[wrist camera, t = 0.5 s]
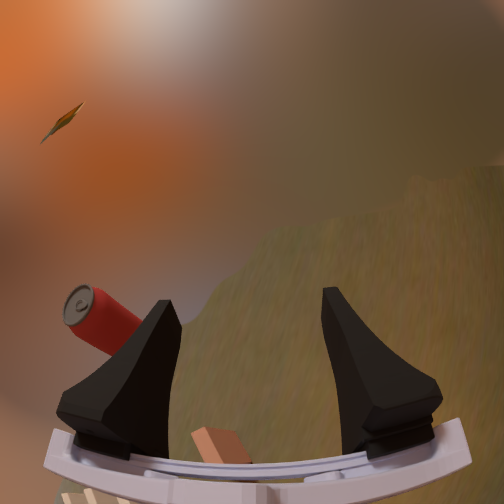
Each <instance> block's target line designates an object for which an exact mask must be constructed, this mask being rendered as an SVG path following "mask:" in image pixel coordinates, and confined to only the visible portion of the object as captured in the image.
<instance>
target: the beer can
mask: <svg viewBox="0 0 504 504" xmlns="http://www.w3.org/2000/svg"><path fill="white" fill-rule="evenodd" d="M62 316H63V321H64V323H65V324H66V325H67V326H69V328H70V329H71V330H72V332H73V333H74V334H75V335H76V336H77V337H79V338H80V339H82V340H84V341H85V342H87V343H89V344H91V345H92V346H94V347H96V348H98V349H100V350H101V351H103V352H105V353H107V354H109V355H111V356H113V355H114V354H115V353H116V352H117V351H118V350H119V349H120V348H121V347H122V346H123V345H124V343H125V342H126V341H127V340H128V339H129V338H130V336H131V335H132V334H133V333H134V332H135V330H136V329H137V328H138V327H139V325H140V324H141V323H142V322H143V321H142V320H141V319H139V318H138V317H137V316H135V315H134V314H133V313H131V312H130V311H129V310H127V309H126V308H124V307H123V306H122V305H121V304H119V303H118V302H117V301H115V300H114V299H113V298H112V297H111V296H109V295H108V294H107V293H106V292H104V291H103V290H101V289H99V288H95V287H91V286H90V285H89V284H81V285H79V286H77V287H76V288H75V289H74V290H73V291H72V292H71V293H70V294H69V296H68V297H67V299H66V302H65V303H64V307H63V313H62Z"/></svg>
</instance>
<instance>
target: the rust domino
mask: <svg viewBox="0 0 504 504" xmlns="http://www.w3.org/2000/svg"><path fill="white" fill-rule="evenodd" d="M191 435H192V437H193V439H194V441H195V443H196V445H197V447H198V450H199V452H200V454H201V456H202V458H203V460H204V461H205V463H217V464H248V463H250V462H252V461H251V459H250V457H249V456H248V454H247V452H246V450H245V449H244V447H243V445H242V443H241V442H240V440H239V438H238V436H237V435H236V433H235V431H230V430H223V429H216V428H210V427H203V428H201V429H199V430H197V431H195V432H193V433H191Z"/></svg>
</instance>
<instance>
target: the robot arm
mask: <svg viewBox="0 0 504 504" xmlns="http://www.w3.org/2000/svg"><path fill="white" fill-rule="evenodd" d="M321 321H322V328H323V334H324V339H325V343H326V346H327V350H328V354H329V358H330V361H331V365H332V369H333V373H334V377H335V382H336V388H337V395H338V403H339V412H340V423H341V436H342V456H336V457H330V458H323V459H316V460H307V461H298V462H286V463H269V464H217V463H200V462H188V461H179V460H170V459H169V450H168V416H169V401H170V391H171V385H172V380H173V375H174V371H175V367H176V362H177V358H178V354H179V349H180V343H181V333H182V326H181V324H180V322H179V319H178V317H177V315H176V312H175V310H174V307H173V305H172V302H171V300H159V301H158V302H157V303H156V305H155V306H154V307H153V308H152V310H151V311H150V312H149V314H148V315H147V316H146V318H145V319H144V320H143V322H142V323H141V324H140V325H139V327H138V328H137V329H136V330H135V332H134V333H133V334H132V335H131V336H130V338H129V339H128V340H127V341H126V342H125V343H124V345H123V346H122V347H121V348H120V349H119V350H118V351H117V352H116V353H115V354H114V355H113V356H112V357H111V358H110V359H109V360H108V361H107V362H105V363H104V364H103V365H102V366H101V367H100V368H98V369H97V370H96V371H95V372H94V373H92V374H91V375H90V376H88V377H87V378H86V379H84V380H83V381H81V382H80V383H78V384H76V385H75V386H73V387H71V388H70V389H68V390H66V391H64V392H63V394H62V397H61V400H60V403H59V405H58V408H57V411H56V414H57V416H58V417H59V418H60V419H61V420H62V421H63V422H65V423H66V424H67V425H69V426H70V427H71V428H73V429H74V430H76V434H75V436H74V435H72V434H70V433H67V432H64V431H61V430H58V429H56V428H55V429H54V431H53V434H52V437H51V441H50V444H49V447H48V451H47V454H46V458H45V462H44V468H45V469H47V470H49V471H51V472H53V473H55V474H57V475H59V476H61V477H64V478H66V479H68V480H70V481H72V482H75V483H77V484H80V485H83V486H85V487H88V488H91V489H93V490H96V491H99V492H102V493H105V494H108V495H111V496H115V497H118V498H121V499H125V500H129V501H132V502H136V503H140V504H367V503H371V502H375V501H379V500H383V499H386V498H390V497H393V496H396V495H399V494H402V493H405V492H408V491H411V490H414V489H417V488H420V487H422V486H425V485H428V484H430V483H433V482H435V481H437V480H440V479H442V478H445V477H447V476H449V475H451V474H453V473H455V472H457V471H459V470H461V469H463V468H464V467H466V466H468V465H470V464H471V463H472V459H471V455H470V451H469V448H468V444H467V441H466V437H465V434H464V431H463V427H462V424H461V421H460V418H456V419H453V420H451V421H448V422H446V423H443V424H440V425H438V426H436V427H434V428H432V425H431V423H432V422H433V418H432V413H433V412H434V411H435V410H436V409H437V408H438V407H439V405H440V404H441V403H442V400H443V396H442V394H441V391H440V388H439V386H438V384H437V383H436V381H435V379H433V378H431V377H430V376H428V375H426V374H424V373H423V372H421V371H419V370H417V369H416V368H414V367H413V366H411V365H410V364H408V363H407V362H406V361H404V360H403V359H402V358H401V357H399V356H398V355H397V354H395V353H394V352H393V351H392V350H391V349H389V348H388V347H387V346H386V345H385V344H384V343H383V342H382V341H381V340H380V339H379V338H378V337H377V336H376V335H375V334H374V333H373V332H372V331H371V330H370V329H369V328H368V327H367V326H366V325H365V323H364V322H363V321H362V320H361V319H360V317H359V316H358V315H357V314H356V313H355V311H354V310H353V309H352V307H351V306H350V305H349V303H348V302H347V301H346V299H345V298H344V296H343V295H342V294H341V292H340V291H339V289H338V288H337V287H327V288H323V298H322V312H321ZM172 475H176V476H172ZM177 476H184V477H193V478H204V479H220V480H273V479H289V478H301V477H306V478H305V479H304V483H283V484H259V483H230V482H210V481H198V480H188V479H179V478H178V477H177Z"/></svg>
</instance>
